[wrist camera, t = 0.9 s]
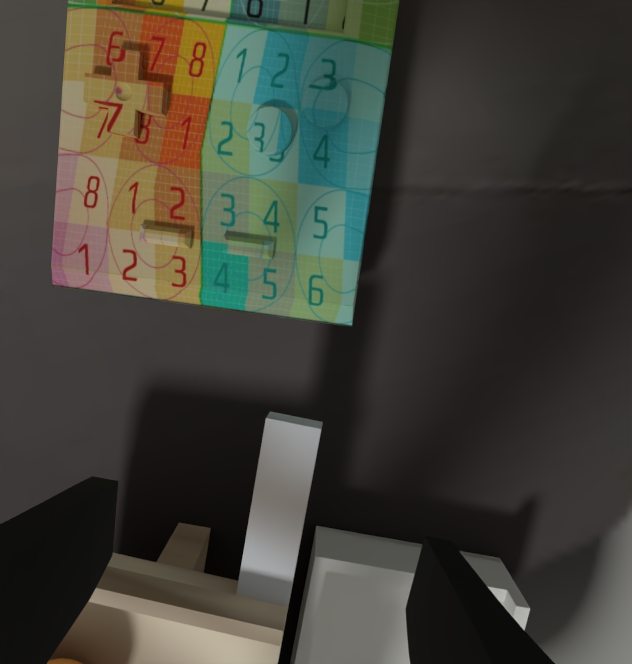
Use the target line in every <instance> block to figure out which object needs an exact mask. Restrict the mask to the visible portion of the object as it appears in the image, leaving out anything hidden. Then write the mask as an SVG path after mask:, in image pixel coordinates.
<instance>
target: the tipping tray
mask: <svg viewBox="0 0 632 664" xmlns="http://www.w3.org/2000/svg"><path fill="white" fill-rule="evenodd" d="M322 424H323V422H320V421H315V420H310V419H305V418H300V417H295V416H290V415H285V414H280V413H275V412H269V414H268V415H267V417H266V421H265V427H264V432H263V438H262V444H261V450H260V456H259V462H258V468H257V474H256V480H255V486H254V492H253V498H252V504H251V509H250V515H249V521H248V527H247V533H246V539H245V545H244V551H243V557H242V563H241V569H240V575H239V581H237V580H233V579H228V578H224V577H219V576H215V575H210V574H206V573H201V572H197V571H192V570H188V569H184V568H179V567H175V566H170V565H166V564H161V563H157V562H152V561H148V560H143V559H139V558H135V557H130V556H126V555H121V554H117V553H113V554H112V557H111V559H110V561H109V563H108V565H107V567H106V569H105V571H104V573H103V575H102V577H101V579H100V581H99V583H98V585H97V587H96V589H95V591H94V592H93V594H92V596H91V598H90V600H89V601H88V603H87V604H86V606H85V607H84V609H83V610H82V612H81V613H80V615H79V616H78V618H77V619H76V621H75V622H74V624H73V625H72V627H71V628H70V630H69V631H68V633H67V634H66V636H65V637H64V639H63V640H62V642H61V643H60V645H59V646H58V648H57V649H56V650H55V652H54V653H53V655H52V656H51V658H50V659H49V660H53V659H61V658H64V659H73V660H76V661H79V662H81V663H83V664H278V660H279V655H280V650H281V644H282V639H283V633H284V628H285V623H286V617H287V612H288V607H289V601H290V596H291V591H292V585H293V580H294V574H295V569H296V564H297V558H298V553H299V548H300V542H301V537H302V531H303V526H304V521H305V515H306V510H307V505H308V499H309V494H310V489H311V483H312V478H313V472H314V467H315V462H316V456H317V451H318V446H319V440H320V435H321V430H322Z"/></svg>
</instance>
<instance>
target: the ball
mask: <svg viewBox="0 0 632 664" xmlns="http://www.w3.org/2000/svg"><path fill="white" fill-rule="evenodd" d="M47 664H83V663H81V662H79V661H76V660H73V659H64V658H61V659H53V660H49V661H48V662H47Z"/></svg>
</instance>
